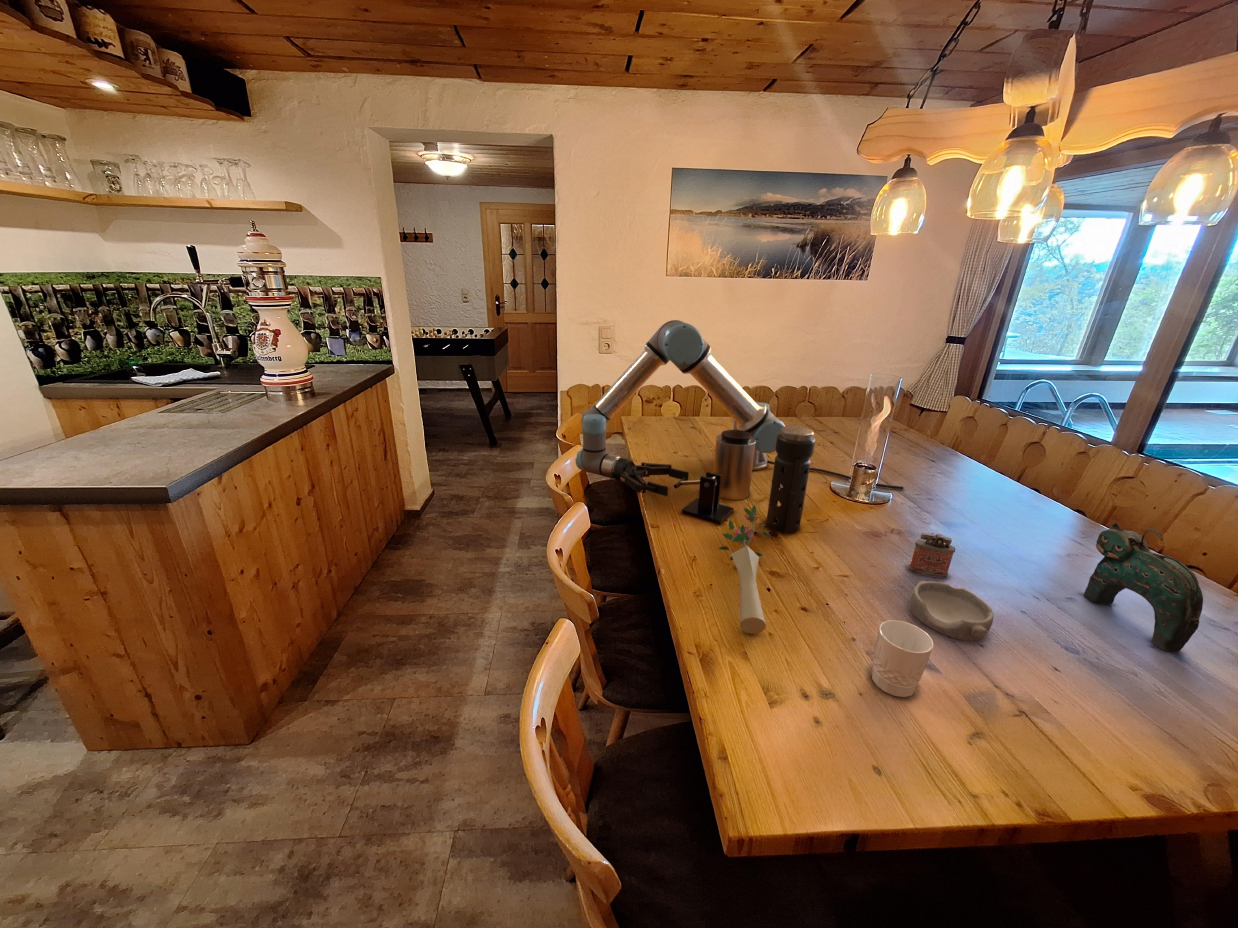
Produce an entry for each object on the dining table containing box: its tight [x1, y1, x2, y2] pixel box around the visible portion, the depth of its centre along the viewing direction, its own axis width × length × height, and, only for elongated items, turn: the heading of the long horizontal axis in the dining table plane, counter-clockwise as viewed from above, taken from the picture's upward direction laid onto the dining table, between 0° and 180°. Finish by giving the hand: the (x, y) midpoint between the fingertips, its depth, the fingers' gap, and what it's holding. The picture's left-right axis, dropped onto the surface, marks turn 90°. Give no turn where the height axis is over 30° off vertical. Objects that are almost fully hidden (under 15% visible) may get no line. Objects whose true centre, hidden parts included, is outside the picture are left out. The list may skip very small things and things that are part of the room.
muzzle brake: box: [765, 425, 816, 534], centre depth 131 cm, size 10×28×10 cm
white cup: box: [870, 619, 935, 698], centre depth 83 cm, size 8×8×10 cm
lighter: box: [908, 532, 956, 579], centre depth 114 cm, size 8×3×10 cm, turn 71°
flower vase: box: [718, 504, 772, 635], centre depth 110 cm, size 12×12×35 cm
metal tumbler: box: [712, 429, 756, 501], centre depth 154 cm, size 12×12×20 cm
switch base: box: [681, 471, 735, 526], centre depth 141 cm, size 12×10×12 cm
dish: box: [909, 580, 995, 641], centre depth 99 cm, size 14×14×5 cm
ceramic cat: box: [1083, 522, 1204, 652], centre depth 97 cm, size 20×6×20 cm, turn 178°
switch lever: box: [672, 476, 717, 490], centre depth 143 cm, size 12×6×2 cm, turn 56°
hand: (678, 483), depth 146 cm, fingers open, 13 cm apart
